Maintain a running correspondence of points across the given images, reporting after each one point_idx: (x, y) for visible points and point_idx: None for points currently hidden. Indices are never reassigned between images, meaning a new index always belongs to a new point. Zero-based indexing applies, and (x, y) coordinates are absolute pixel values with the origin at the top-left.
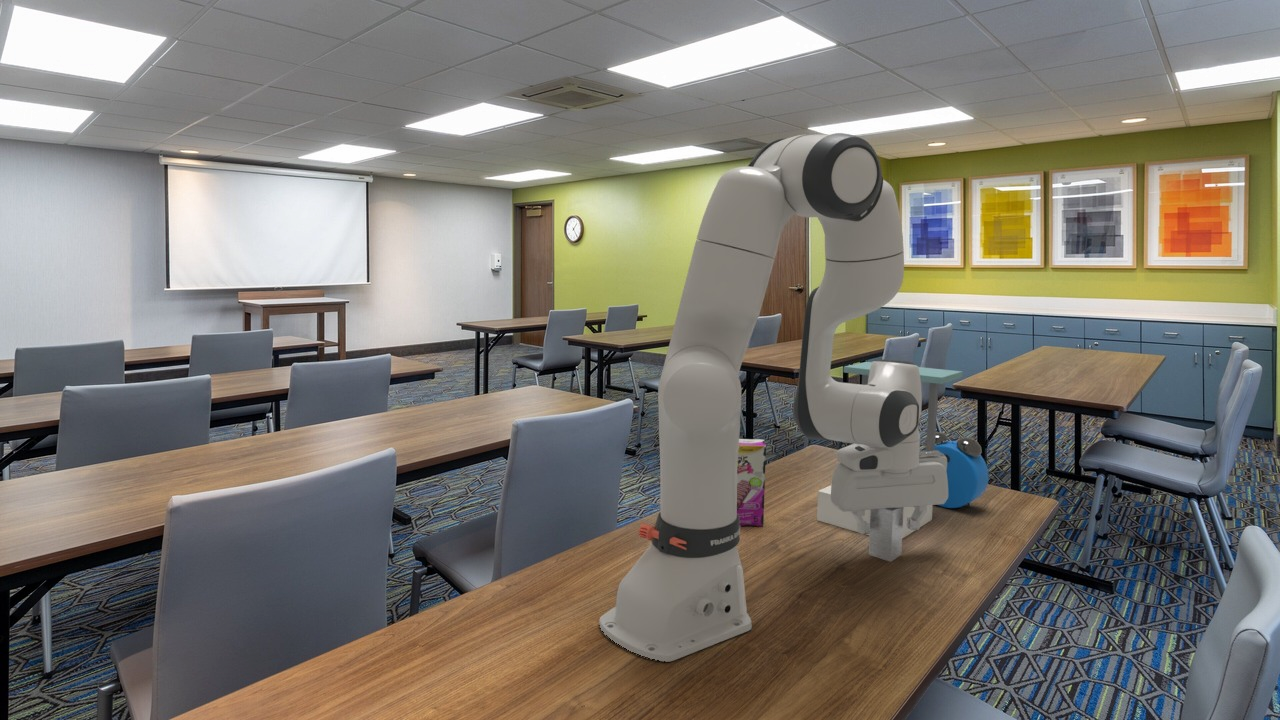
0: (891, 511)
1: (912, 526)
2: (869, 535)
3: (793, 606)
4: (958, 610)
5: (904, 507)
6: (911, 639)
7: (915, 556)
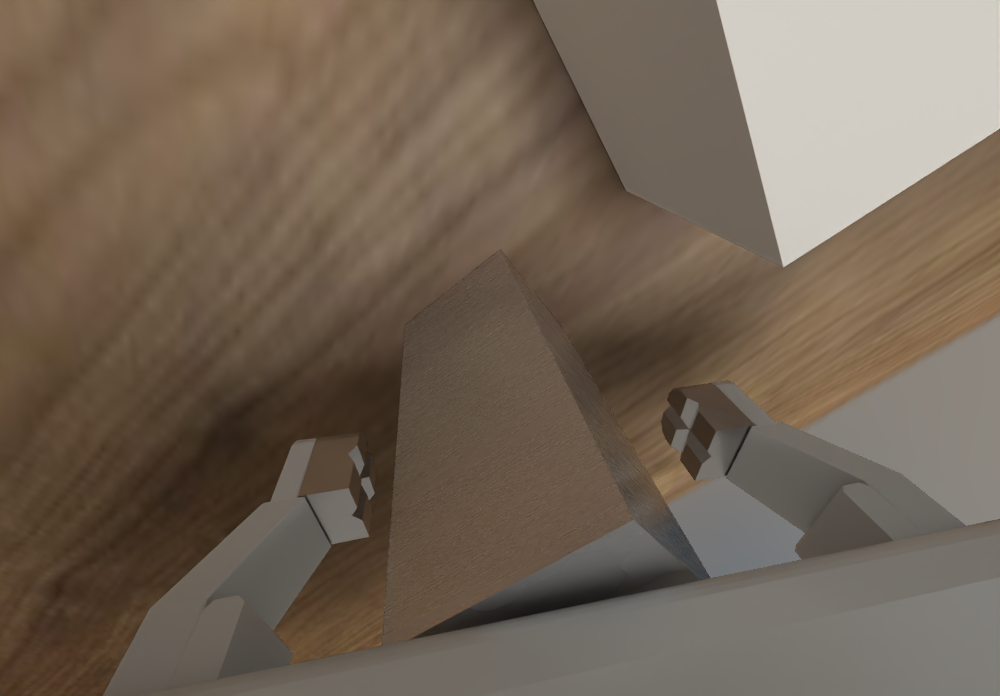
0: None
1: (678, 447)
2: (400, 395)
3: (48, 627)
4: None
5: (982, 132)
6: None
7: (613, 347)
